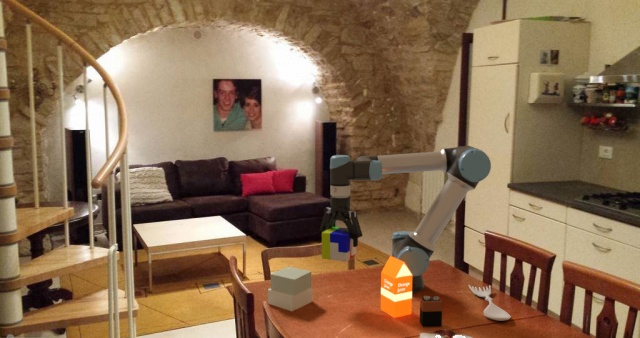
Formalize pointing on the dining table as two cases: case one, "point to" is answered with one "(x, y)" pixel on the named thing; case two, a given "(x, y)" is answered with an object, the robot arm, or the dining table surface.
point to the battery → (431, 311)
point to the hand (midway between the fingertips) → (340, 252)
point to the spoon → (491, 305)
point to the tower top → (291, 280)
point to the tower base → (289, 299)
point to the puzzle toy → (336, 244)
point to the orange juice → (396, 288)
